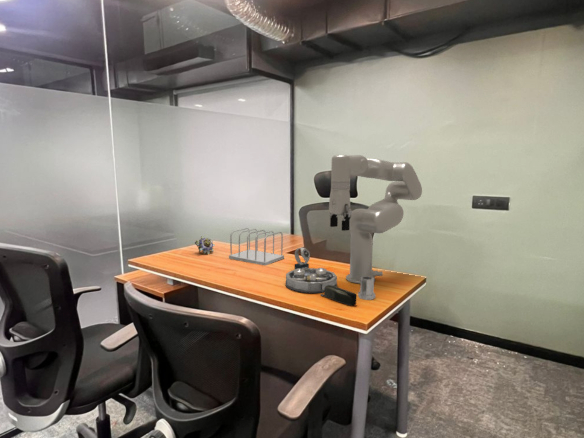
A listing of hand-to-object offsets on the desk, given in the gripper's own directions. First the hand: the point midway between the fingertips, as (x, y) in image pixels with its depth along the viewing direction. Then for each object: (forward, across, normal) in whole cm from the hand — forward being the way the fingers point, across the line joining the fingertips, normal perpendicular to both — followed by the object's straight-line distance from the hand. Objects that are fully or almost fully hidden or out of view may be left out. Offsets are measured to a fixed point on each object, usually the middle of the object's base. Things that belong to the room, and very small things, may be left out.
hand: (339, 228), depth 142 cm
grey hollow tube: (+24, +15, +4) cm, 29 cm away
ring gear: (+23, -6, -10) cm, 26 cm away
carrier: (+24, -6, -10) cm, 27 cm away
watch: (+25, -27, -5) cm, 37 cm away
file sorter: (+25, -56, -20) cm, 65 cm away
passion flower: (+25, -79, -45) cm, 94 cm away
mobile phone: (+25, +14, -8) cm, 30 cm away
